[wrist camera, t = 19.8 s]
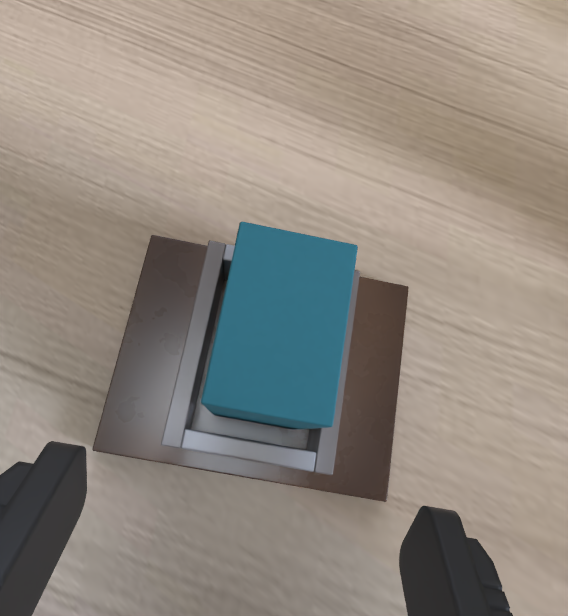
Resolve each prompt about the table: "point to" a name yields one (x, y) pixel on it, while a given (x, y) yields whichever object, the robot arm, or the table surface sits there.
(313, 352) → the teal rectangular block
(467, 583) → the robot arm
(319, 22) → the table surface
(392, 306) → the board
